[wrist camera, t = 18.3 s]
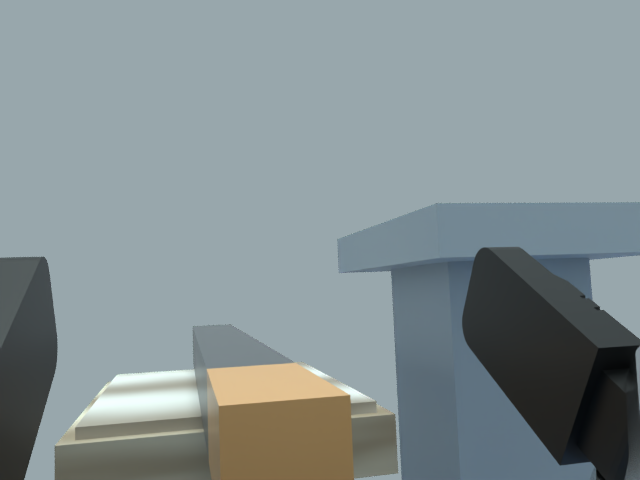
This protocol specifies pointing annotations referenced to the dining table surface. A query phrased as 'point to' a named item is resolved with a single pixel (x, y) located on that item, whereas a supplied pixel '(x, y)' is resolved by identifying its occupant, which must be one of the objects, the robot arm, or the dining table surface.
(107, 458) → the marble stand
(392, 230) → the tall stand
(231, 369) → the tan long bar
